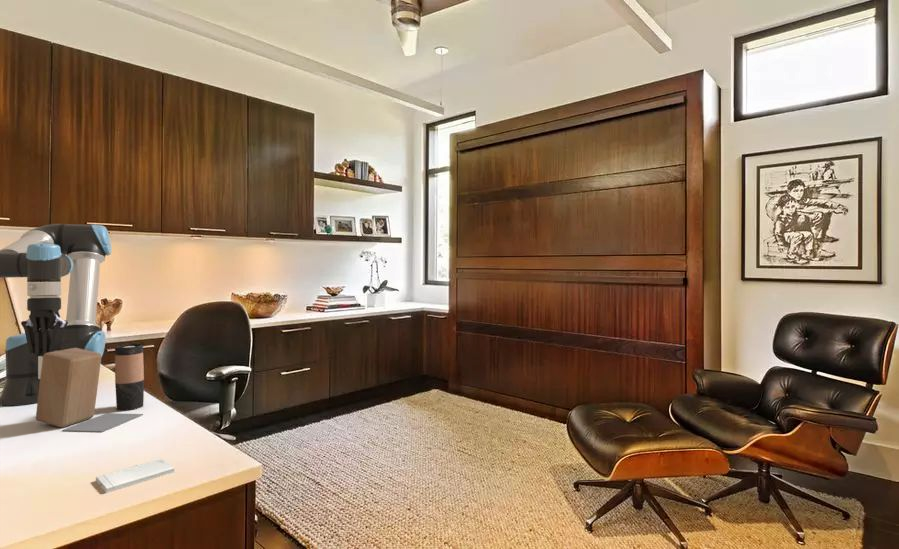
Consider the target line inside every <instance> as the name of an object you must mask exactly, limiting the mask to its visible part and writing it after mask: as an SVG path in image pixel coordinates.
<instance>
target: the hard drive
mask: <svg viewBox="0 0 899 549" xmlns="http://www.w3.org/2000/svg"><path fill="white" fill-rule="evenodd" d="M175 471H176V470H175V468H174V466H173V465H171V464H170V463H169V462H167V461H166V460H165V459H163V458H158V459H155V460H153V461H152V460H151V461H149V462H145V463H142V464H139V465H135V466H130V467H127V468H123V469H120V470H116V471H113V472H109V473H106V474H101V475H99V476H96V477H95V482H96V483H97V484H98V485H99V487H100V488H101V489H102V490H103V491H104V492H105V494H108V493H112V492H115V491H118V490H122V489H124V488H127V487H132V486H134V485H138V484H141V483H145V482H147V481H148V482H149V481H150V480H155V479H157V477H158V478H160V476H161V477H164V476H163V475H165V476H167V475H166V474H168V475H170V473H171V474H174V473H175ZM173 472H174V473H173ZM154 478H155V479H154Z"/></svg>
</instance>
